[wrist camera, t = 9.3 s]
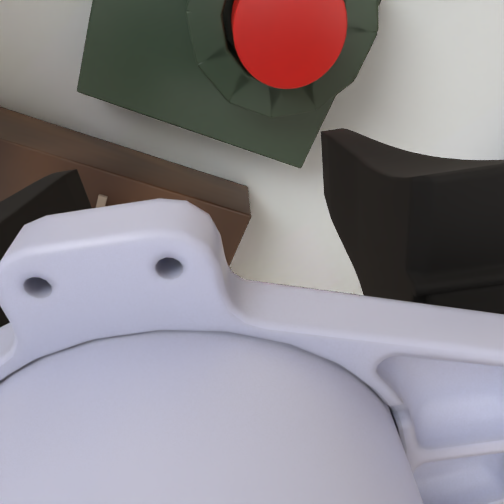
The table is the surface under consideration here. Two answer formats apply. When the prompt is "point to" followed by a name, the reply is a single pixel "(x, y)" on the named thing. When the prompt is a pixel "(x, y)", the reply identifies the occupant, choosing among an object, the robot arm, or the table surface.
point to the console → (115, 173)
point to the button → (288, 39)
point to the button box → (211, 73)
